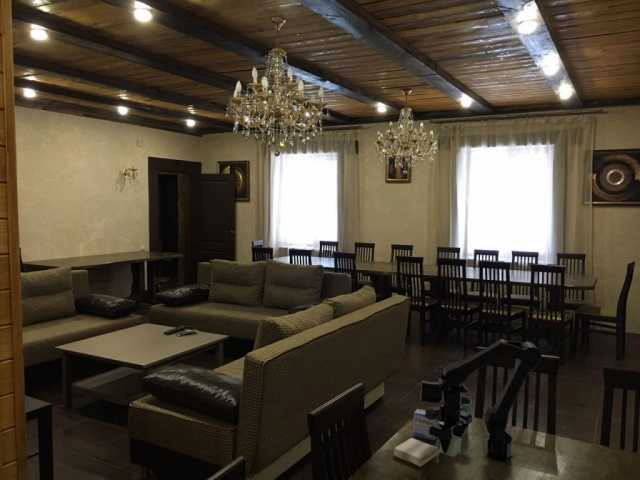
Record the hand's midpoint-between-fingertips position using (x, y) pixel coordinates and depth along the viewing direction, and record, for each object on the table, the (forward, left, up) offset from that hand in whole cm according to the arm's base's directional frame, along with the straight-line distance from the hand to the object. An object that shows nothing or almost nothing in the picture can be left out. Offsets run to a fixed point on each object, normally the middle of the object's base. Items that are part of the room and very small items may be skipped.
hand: (450, 448), depth 177 cm
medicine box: (+12, -4, -1) cm, 13 cm away
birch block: (+7, +10, -2) cm, 12 cm away
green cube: (0, 0, -1) cm, 1 cm away
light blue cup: (+6, -15, -1) cm, 16 cm away
